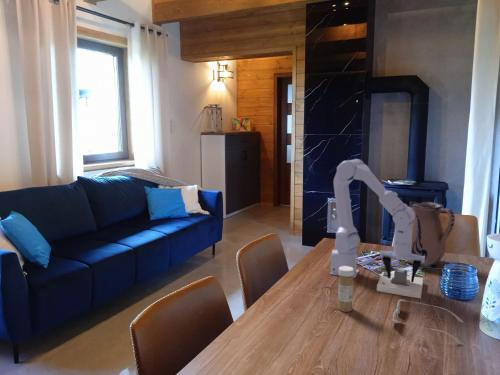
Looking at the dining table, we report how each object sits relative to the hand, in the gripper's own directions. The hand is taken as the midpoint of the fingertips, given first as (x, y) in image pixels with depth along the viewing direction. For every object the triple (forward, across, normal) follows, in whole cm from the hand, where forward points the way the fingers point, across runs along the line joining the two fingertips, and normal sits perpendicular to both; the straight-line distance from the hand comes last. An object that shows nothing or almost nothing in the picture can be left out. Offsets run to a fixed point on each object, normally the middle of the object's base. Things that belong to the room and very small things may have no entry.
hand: (400, 279), depth 139 cm
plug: (+3, 0, 0) cm, 3 cm away
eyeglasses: (+4, +10, -25) cm, 27 cm away
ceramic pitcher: (+3, +7, +29) cm, 30 cm away
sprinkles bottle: (+3, -14, -25) cm, 29 cm away
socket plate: (+3, 0, 0) cm, 3 cm away
